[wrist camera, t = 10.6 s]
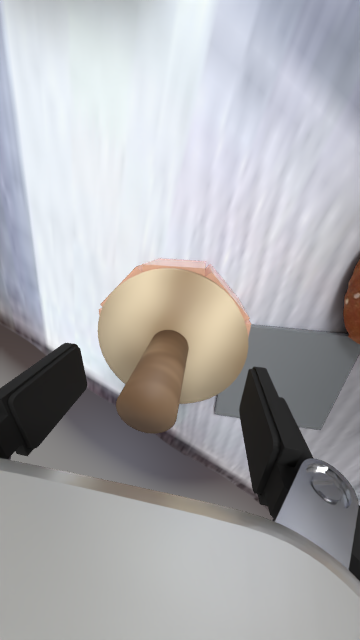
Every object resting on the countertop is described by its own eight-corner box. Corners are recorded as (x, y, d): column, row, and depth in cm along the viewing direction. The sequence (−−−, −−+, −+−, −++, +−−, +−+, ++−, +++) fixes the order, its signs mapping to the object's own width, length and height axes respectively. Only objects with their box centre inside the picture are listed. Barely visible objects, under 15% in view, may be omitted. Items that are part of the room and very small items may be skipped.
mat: (362, 335, 17) (367, 338, 16) (317, 425, 22) (320, 430, 21) (229, 322, 18) (230, 324, 18) (214, 410, 23) (214, 414, 22)
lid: (261, 274, 11) (320, 306, 5) (232, 404, 16) (247, 501, 10) (94, 262, 12) (-5, 279, 7) (110, 387, 17) (59, 464, 11)
